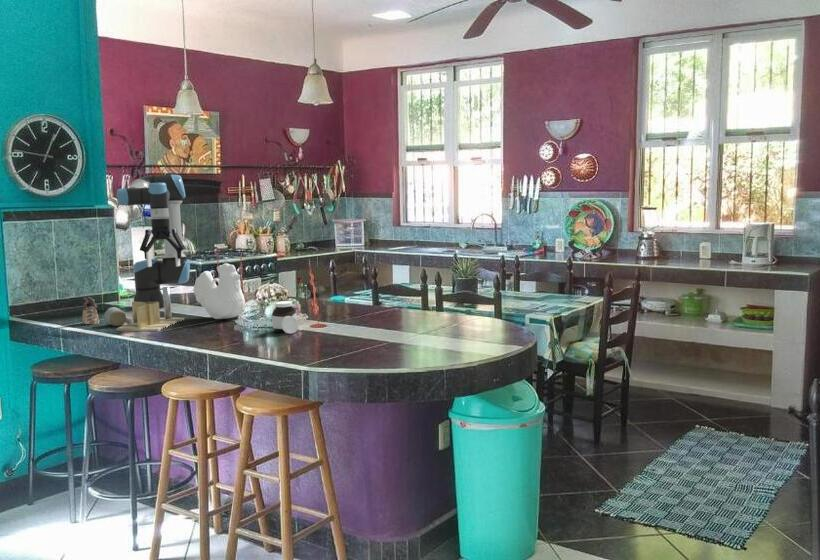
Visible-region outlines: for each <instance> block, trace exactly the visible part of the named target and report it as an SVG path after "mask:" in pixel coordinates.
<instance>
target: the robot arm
mask: <svg viewBox="0 0 820 560" xmlns="http://www.w3.org/2000/svg"><path fill="white" fill-rule="evenodd" d="M185 198H186V191H185V186H184V182H183V179H182V176H181V175H179V174H157V175H151V174H150V175H145V176H141V177H139V178H136V179H134V180H133V181H131V183H130V185H129V187H127V188H126V187H123V188H118V189H117V190H116V201H117V204H118V205H119V206H141V205H142V206H143V205H150V206H149V208H150V209H149V210H150V218H151V219H150V222H151V223H150V224H151V228H152V229H145V231H144V237H143V240H142V242H141V245H140V248H139V251H141V252H143V253H144V259H143V260H140V261H136V262H134V264H133V273H134V274H133V275H134V277H133V278H134V286H135V287H134V288H135V289H134V290H135V294H134V298H133V301H136V302H159V308H162V307H164V301H163V292H162V290H161V285H174V284H179V285H180V284H186V283H187V282H188V281H189V280H190V274H191V273H190V272H191V270H190V268H191V261H190V259H188V258H187V255H186V254H184V250H186V247H185V245H184V243H183V234H182V233H183V232H182V231H183V230H182V218H181V204H182V203H183V201H184V199H185ZM151 235H152V237H151ZM150 237H151V239H150ZM158 240H160V241H161V240H163V241H164V242H163V243H164V255H163V256H162V258H161V259H162V260H160V261H159V259H158V258H152V252H151V251H150V250H151V248H152V247H153V245H154V244H155V243H156V241H158Z"/></svg>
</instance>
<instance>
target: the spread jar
mask: <svg viewBox="0 0 820 560" xmlns="http://www.w3.org/2000/svg"><path fill="white" fill-rule="evenodd" d="M274 304H275V305H274V306H275V307H274V308H273V311H272V314H271V315H272V316H271V320H272V321H271V322H272V329H273V330H274V331H275V332H277V333H285V334H289V335H290V334H294V333H296V332H297V331H298V330H299V322H298V315H297V309H295V307H294V306H293V301H292V300H291V301H290V300H284V301H283V300H282V301H277V302H275V303H274Z"/></svg>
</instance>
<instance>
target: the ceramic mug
mask: <svg viewBox="0 0 820 560" xmlns="http://www.w3.org/2000/svg"><path fill="white" fill-rule="evenodd" d="M104 320H105V322H107V324H110V325H111V326H113V327H122V326H124V324H125V323H127V324H130V323H132V322H133V320H132V319H130V318H128V317H127V315H126V314H125V312H124V311H123V310H121V308H118V307H116V306H112V307H109V308H107V310H105V312H104Z"/></svg>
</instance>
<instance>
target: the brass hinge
mask: <svg viewBox="0 0 820 560" xmlns="http://www.w3.org/2000/svg"><path fill="white" fill-rule="evenodd" d="M131 307H132V309H131V310H132V319H133V320H132V322H138V329H141V328H143V327H146V326H148V325H155V324H159V323H160V318H161V315H160V313H161V312H160V311H161V310H160V307H159V302H136V301H134V300H133V301H131Z"/></svg>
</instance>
